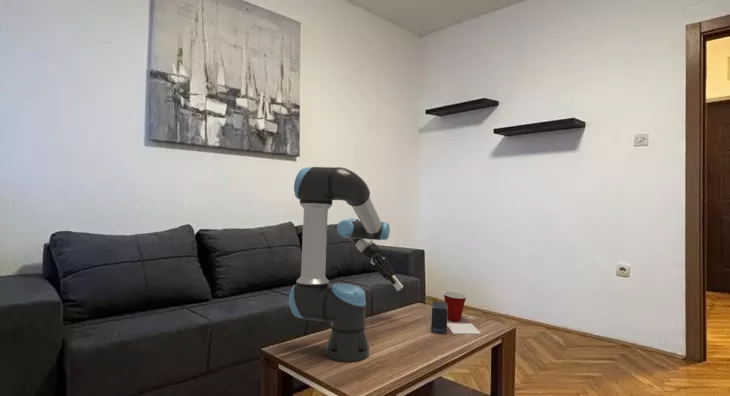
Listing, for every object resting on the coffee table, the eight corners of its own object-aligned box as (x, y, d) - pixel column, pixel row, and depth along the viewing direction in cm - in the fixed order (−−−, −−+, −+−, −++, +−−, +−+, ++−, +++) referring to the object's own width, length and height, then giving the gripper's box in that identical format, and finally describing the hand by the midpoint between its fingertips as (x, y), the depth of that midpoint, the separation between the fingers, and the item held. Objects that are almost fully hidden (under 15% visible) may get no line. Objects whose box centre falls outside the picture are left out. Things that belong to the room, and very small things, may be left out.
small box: (447, 334, 167) (447, 308, 167) (430, 333, 168) (431, 307, 168) (447, 326, 177) (447, 302, 177) (431, 325, 179) (432, 301, 178)
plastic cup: (465, 324, 180) (466, 297, 180) (440, 322, 184) (441, 294, 184) (467, 318, 191) (468, 292, 191) (443, 315, 194) (444, 289, 194)
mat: (452, 333, 168) (452, 333, 168) (445, 323, 181) (445, 323, 181) (481, 334, 168) (481, 333, 168) (471, 324, 181) (471, 323, 181)
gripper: (368, 251, 196) (400, 291, 189) (355, 254, 184) (388, 297, 177) (379, 240, 194) (411, 280, 186) (366, 243, 182) (400, 286, 175)
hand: (400, 288), depth 182 cm, fingers closed
